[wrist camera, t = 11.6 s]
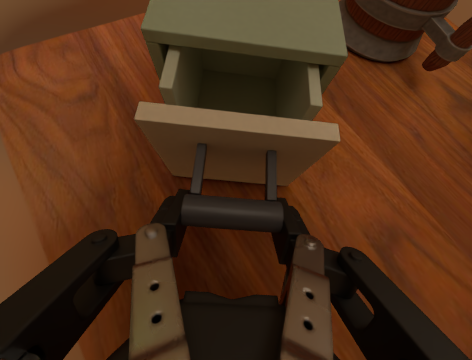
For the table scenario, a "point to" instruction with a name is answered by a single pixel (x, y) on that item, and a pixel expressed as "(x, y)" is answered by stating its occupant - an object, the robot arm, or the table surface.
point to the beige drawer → (236, 130)
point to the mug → (403, 30)
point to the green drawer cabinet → (250, 30)
